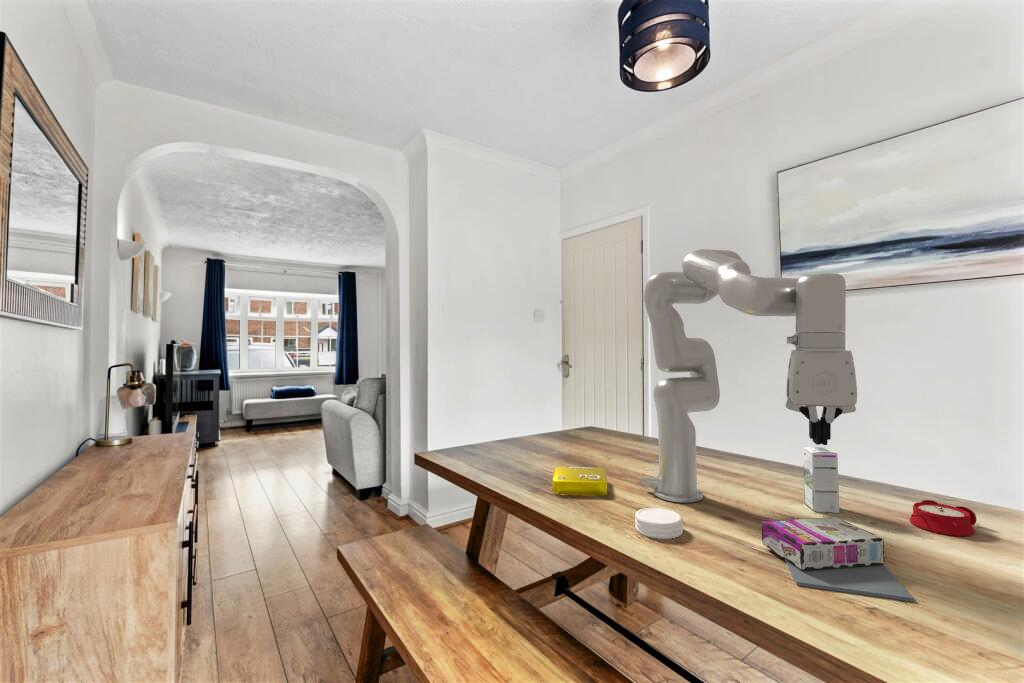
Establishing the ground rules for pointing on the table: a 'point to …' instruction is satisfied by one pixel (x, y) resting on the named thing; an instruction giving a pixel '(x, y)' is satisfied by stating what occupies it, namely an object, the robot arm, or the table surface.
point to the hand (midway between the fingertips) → (819, 443)
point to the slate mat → (853, 580)
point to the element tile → (580, 481)
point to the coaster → (658, 523)
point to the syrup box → (821, 479)
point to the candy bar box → (822, 543)
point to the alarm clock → (943, 518)
